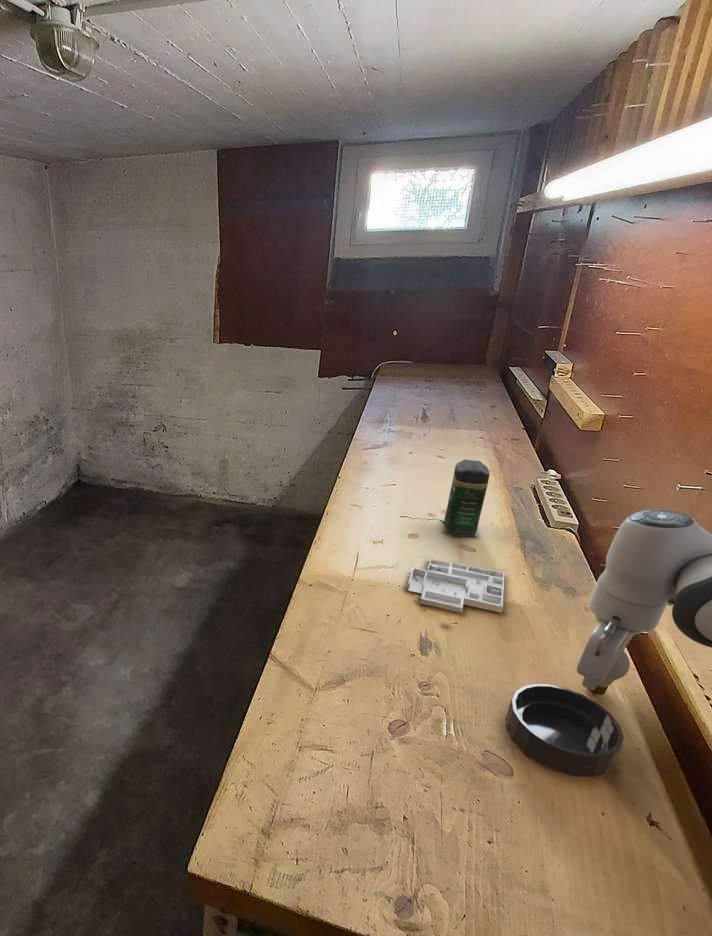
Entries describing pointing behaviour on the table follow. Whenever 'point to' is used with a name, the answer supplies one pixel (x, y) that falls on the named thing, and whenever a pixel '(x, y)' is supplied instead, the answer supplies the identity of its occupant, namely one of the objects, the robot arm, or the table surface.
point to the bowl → (564, 730)
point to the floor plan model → (458, 586)
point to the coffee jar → (466, 497)
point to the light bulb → (613, 674)
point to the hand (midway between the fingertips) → (598, 672)
